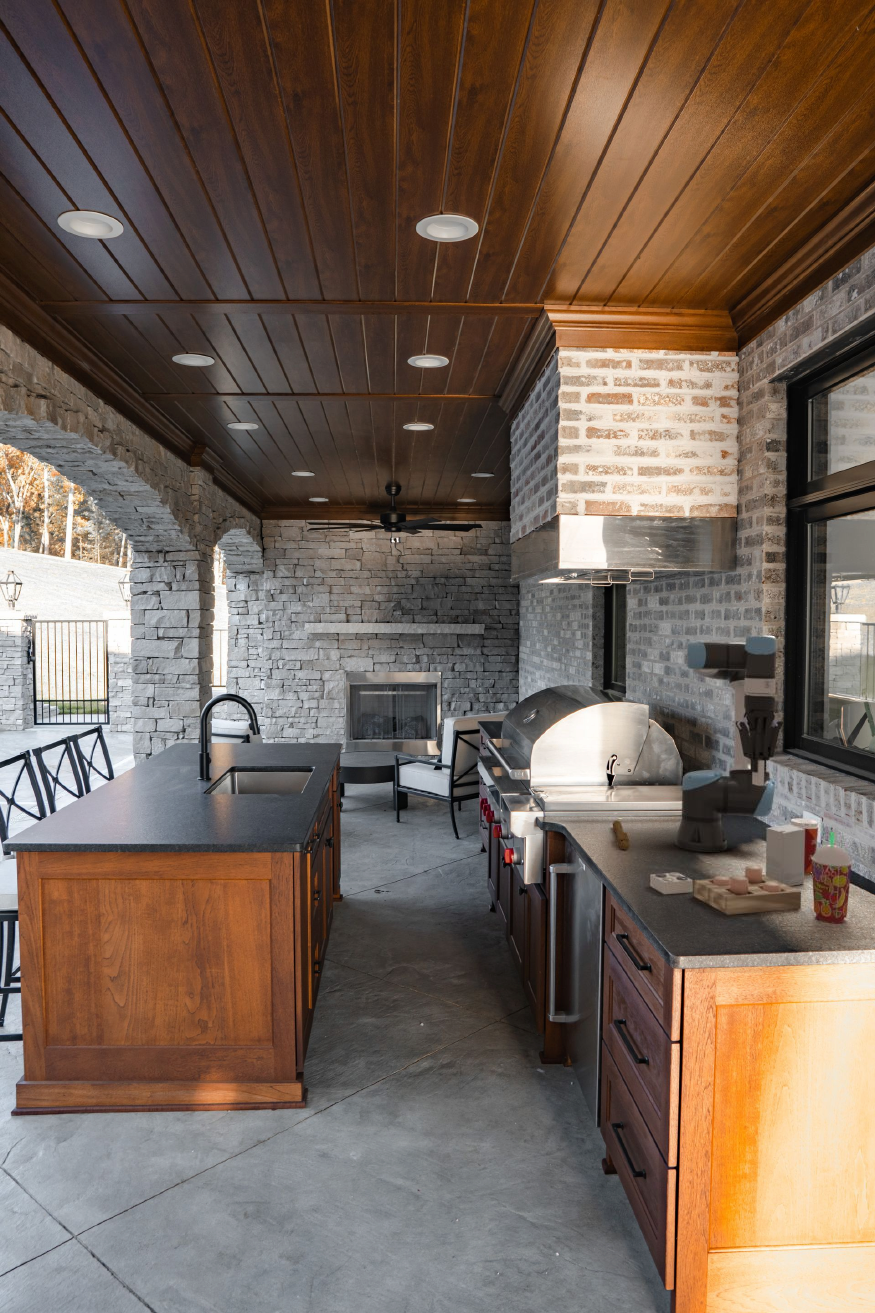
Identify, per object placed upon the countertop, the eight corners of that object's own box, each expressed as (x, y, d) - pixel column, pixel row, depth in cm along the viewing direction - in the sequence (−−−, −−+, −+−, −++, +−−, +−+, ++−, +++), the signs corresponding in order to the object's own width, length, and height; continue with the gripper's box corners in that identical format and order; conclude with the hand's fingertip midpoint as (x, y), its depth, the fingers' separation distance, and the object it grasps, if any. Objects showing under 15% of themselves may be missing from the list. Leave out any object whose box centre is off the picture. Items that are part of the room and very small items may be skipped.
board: (694, 896, 204) (694, 880, 204) (763, 890, 209) (763, 875, 209) (727, 914, 190) (727, 897, 190) (800, 908, 195) (801, 891, 195)
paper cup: (821, 875, 223) (822, 824, 222) (791, 873, 224) (792, 823, 224) (814, 867, 230) (815, 818, 230) (785, 866, 232) (786, 817, 231)
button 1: (709, 891, 203) (710, 876, 203) (724, 889, 204) (724, 875, 204) (719, 896, 199) (719, 880, 199) (733, 894, 200) (734, 879, 200)
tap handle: (621, 820, 276) (629, 841, 247) (621, 829, 276) (629, 851, 247) (612, 819, 277) (619, 841, 247) (612, 828, 277) (619, 851, 247)
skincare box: (786, 878, 220) (787, 823, 219) (805, 884, 214) (806, 828, 214) (764, 882, 216) (765, 826, 216) (782, 888, 211) (783, 831, 210)
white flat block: (650, 886, 212) (650, 873, 212) (677, 884, 214) (677, 871, 214) (664, 894, 205) (664, 881, 205) (692, 892, 207) (692, 879, 207)
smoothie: (803, 913, 192) (805, 828, 191) (837, 912, 192) (839, 828, 192) (822, 926, 183) (824, 837, 183) (858, 925, 184) (860, 837, 184)
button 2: (726, 891, 196) (727, 876, 196) (741, 890, 197) (741, 874, 197) (737, 896, 192) (737, 880, 192) (751, 895, 193) (752, 879, 193)
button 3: (741, 880, 205) (741, 865, 205) (755, 879, 206) (755, 864, 206) (751, 885, 201) (751, 870, 201) (765, 884, 203) (765, 869, 202)
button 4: (759, 897, 199) (759, 882, 199) (773, 895, 200) (773, 881, 200) (769, 902, 195) (770, 887, 195) (784, 901, 196) (784, 885, 196)
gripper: (747, 695, 207) (745, 788, 208) (790, 695, 211) (789, 786, 211) (729, 693, 215) (727, 783, 215) (771, 693, 218) (770, 781, 219)
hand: (758, 784), depth 213 cm, fingers closed
